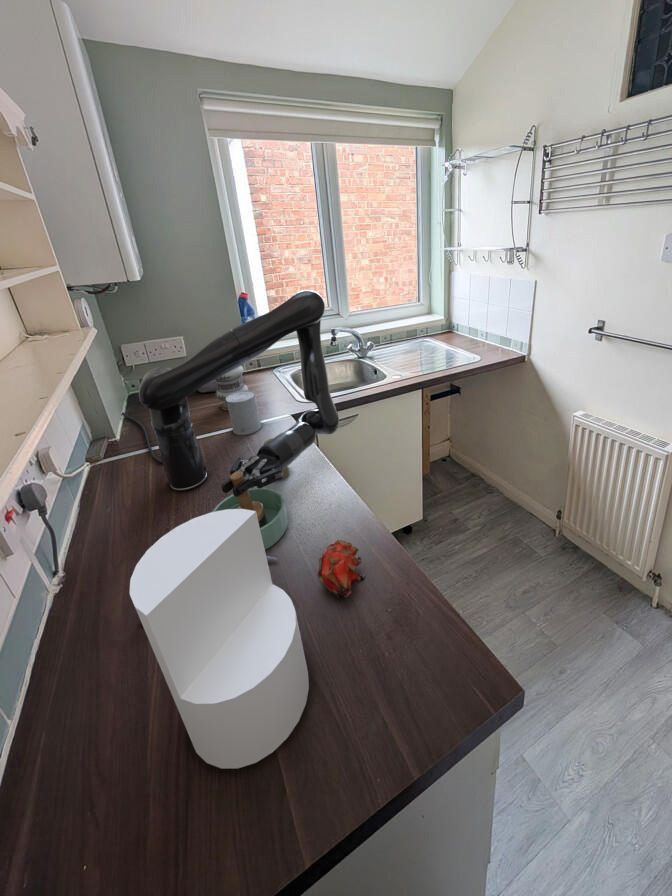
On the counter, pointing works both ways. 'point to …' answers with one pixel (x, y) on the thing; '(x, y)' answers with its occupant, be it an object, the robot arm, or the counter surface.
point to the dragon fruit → (339, 568)
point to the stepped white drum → (223, 636)
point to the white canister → (243, 412)
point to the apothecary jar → (230, 385)
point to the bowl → (272, 510)
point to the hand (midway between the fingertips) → (229, 491)
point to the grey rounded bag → (209, 387)
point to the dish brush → (249, 500)
